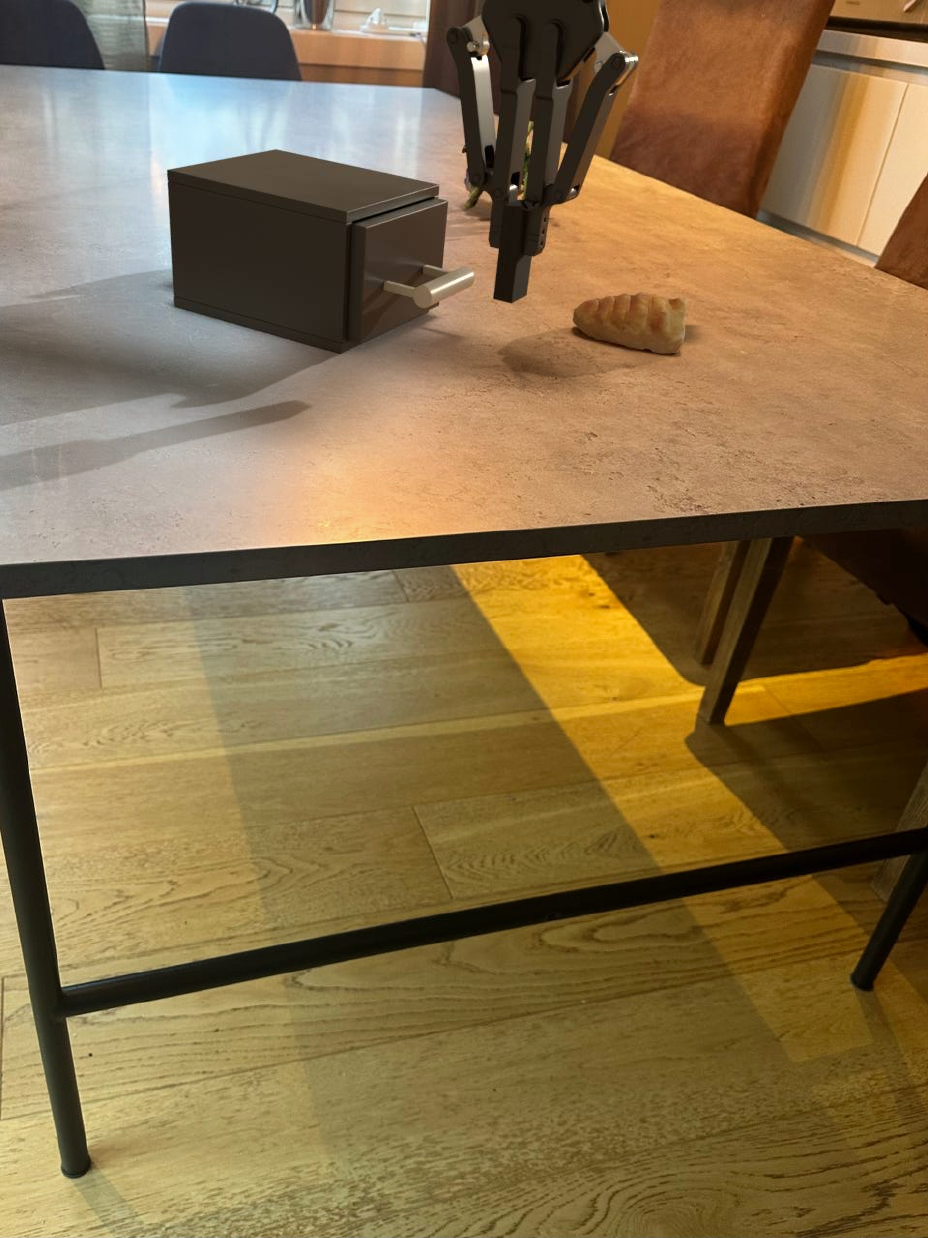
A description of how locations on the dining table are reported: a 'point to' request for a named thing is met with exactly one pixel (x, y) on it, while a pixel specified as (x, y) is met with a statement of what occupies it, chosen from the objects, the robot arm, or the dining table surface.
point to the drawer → (399, 268)
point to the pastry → (635, 321)
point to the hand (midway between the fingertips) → (510, 296)
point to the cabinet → (276, 239)
